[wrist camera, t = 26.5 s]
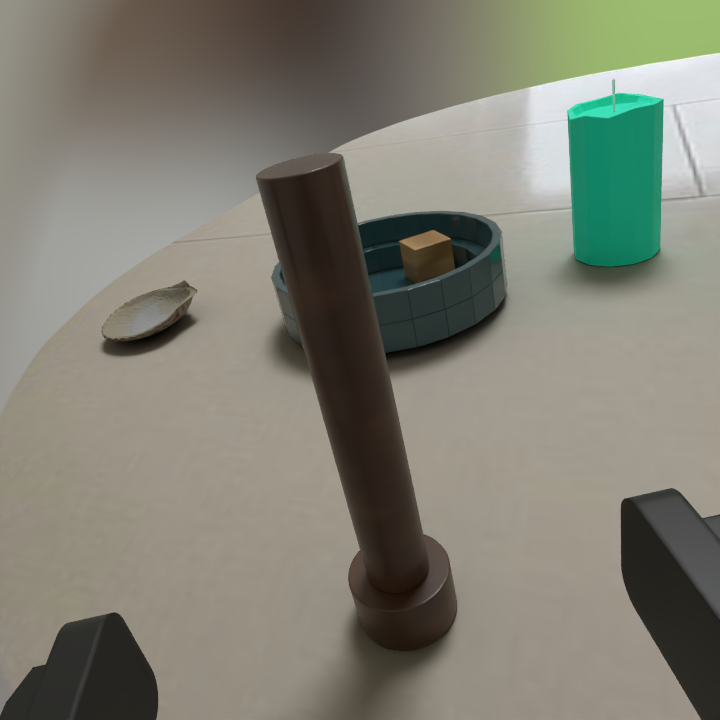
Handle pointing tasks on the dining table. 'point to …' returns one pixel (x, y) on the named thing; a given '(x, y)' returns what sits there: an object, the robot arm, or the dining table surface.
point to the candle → (616, 178)
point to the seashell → (149, 313)
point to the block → (427, 256)
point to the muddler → (357, 401)
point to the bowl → (428, 298)
